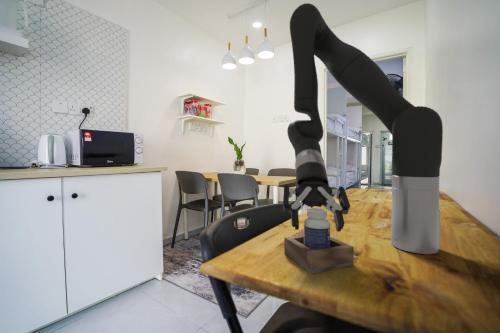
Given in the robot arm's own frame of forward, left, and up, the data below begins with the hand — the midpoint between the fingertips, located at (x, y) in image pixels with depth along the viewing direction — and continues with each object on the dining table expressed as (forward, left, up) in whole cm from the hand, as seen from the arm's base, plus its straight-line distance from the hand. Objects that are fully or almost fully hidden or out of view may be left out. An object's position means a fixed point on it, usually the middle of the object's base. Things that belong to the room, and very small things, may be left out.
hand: (318, 228), depth 47 cm
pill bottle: (-1, -1, -6) cm, 7 cm away
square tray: (-1, -1, -7) cm, 7 cm away
